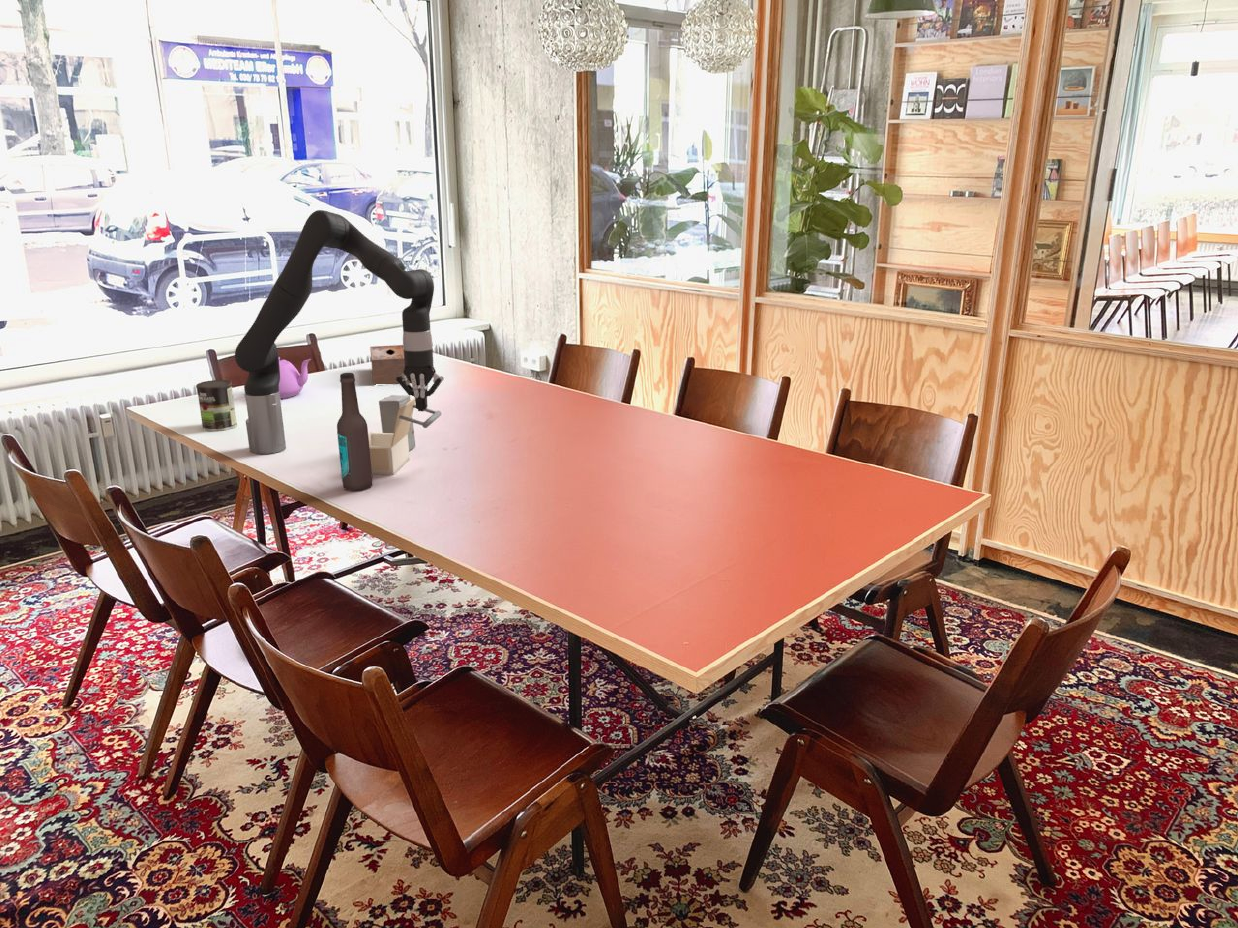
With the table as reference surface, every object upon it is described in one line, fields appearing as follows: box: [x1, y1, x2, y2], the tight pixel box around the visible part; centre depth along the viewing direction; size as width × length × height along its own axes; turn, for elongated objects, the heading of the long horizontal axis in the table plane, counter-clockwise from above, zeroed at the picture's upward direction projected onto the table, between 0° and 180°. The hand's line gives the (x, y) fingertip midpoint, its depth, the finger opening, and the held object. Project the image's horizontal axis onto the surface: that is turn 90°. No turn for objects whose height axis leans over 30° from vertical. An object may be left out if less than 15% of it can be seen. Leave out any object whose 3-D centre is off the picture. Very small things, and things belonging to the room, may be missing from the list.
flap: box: [391, 397, 442, 446], centre depth 252 cm, size 10×13×8 cm
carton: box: [368, 432, 411, 476], centre depth 255 cm, size 11×14×8 cm
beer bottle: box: [336, 372, 374, 492], centre depth 236 cm, size 8×8×30 cm
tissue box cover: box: [369, 344, 412, 386], centre depth 358 cm, size 26×14×10 cm, turn 16°
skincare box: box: [378, 394, 416, 452], centre depth 268 cm, size 8×7×16 cm
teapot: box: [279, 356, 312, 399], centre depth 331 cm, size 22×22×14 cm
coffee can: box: [195, 379, 238, 432], centre depth 292 cm, size 10×10×14 cm
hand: (422, 410), depth 250 cm, fingers closed
